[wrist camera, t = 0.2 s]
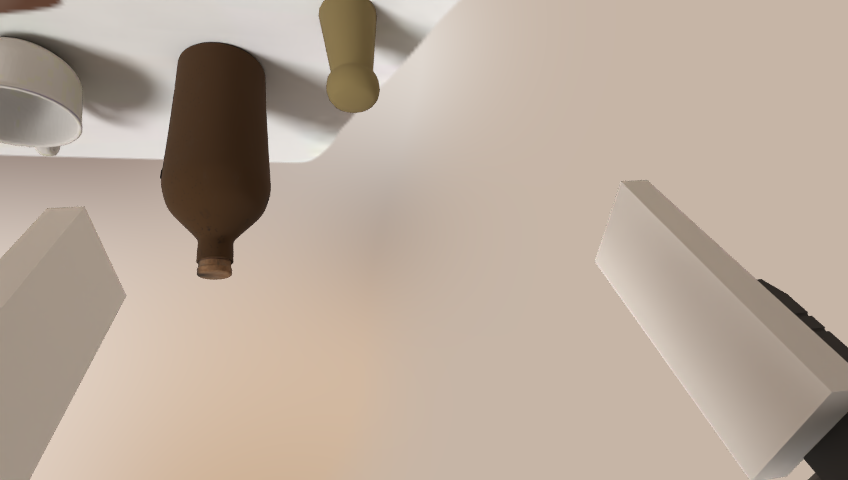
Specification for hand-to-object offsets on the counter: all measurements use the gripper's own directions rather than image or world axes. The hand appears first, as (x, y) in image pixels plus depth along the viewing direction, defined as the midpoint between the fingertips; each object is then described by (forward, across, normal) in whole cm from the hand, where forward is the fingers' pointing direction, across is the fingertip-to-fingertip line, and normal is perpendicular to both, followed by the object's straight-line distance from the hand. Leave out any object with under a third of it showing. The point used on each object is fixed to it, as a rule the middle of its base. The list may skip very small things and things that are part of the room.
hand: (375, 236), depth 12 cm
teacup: (+48, -35, -9) cm, 60 cm away
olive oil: (+49, -15, -10) cm, 52 cm away
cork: (+44, 0, -3) cm, 44 cm away
